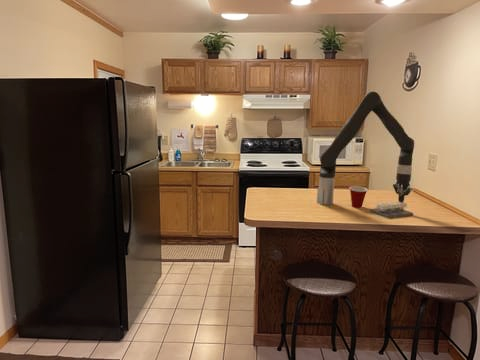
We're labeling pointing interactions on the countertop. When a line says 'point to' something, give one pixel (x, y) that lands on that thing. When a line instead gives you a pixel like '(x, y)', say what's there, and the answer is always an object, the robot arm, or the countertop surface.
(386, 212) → the keypad board
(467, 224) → the countertop surface
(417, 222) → the countertop surface
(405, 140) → the robot arm
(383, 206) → the key
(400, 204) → the key
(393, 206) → the key
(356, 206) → the plastic cup
